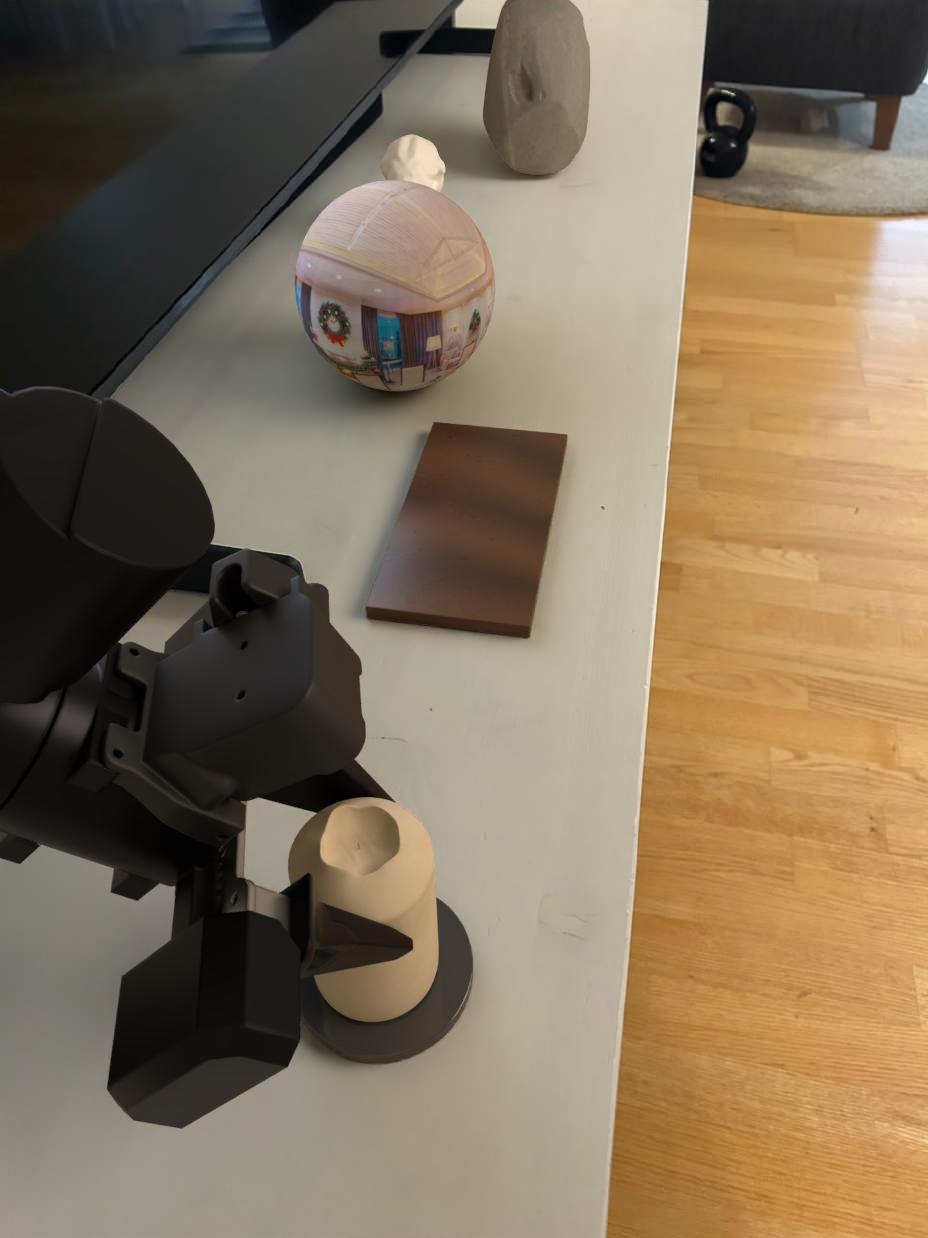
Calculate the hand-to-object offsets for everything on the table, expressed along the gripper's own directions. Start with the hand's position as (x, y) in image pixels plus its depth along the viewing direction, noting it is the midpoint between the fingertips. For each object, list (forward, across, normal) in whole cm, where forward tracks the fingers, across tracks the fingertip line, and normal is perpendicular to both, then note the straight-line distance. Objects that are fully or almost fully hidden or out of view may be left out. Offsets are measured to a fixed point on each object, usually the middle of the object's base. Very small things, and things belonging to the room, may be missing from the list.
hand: (399, 881), depth 38 cm
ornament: (+8, +50, +3) cm, 50 cm away
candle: (+4, 0, +6) cm, 7 cm away
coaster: (+5, 0, +6) cm, 8 cm away
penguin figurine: (+10, +75, +1) cm, 75 cm away
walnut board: (+10, +30, 0) cm, 32 cm away
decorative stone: (+21, +96, -11) cm, 99 cm away
